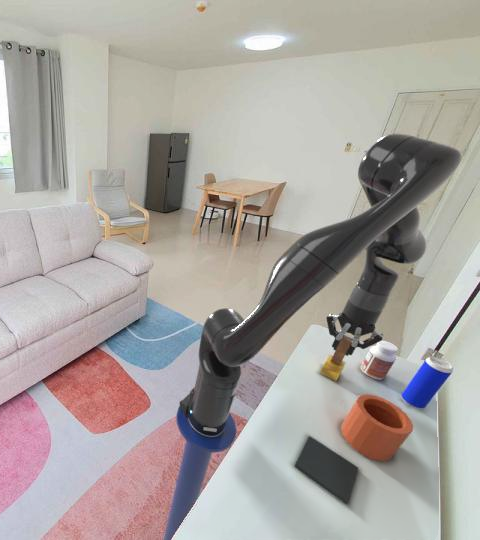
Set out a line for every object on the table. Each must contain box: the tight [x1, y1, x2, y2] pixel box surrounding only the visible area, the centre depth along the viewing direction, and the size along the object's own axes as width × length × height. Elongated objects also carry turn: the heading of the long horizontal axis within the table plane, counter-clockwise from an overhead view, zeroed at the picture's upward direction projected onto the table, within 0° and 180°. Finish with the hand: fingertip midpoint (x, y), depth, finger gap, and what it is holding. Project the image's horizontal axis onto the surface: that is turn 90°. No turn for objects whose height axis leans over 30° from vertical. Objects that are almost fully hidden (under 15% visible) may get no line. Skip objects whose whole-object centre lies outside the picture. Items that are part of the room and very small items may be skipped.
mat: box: [294, 435, 359, 504], centre depth 66 cm, size 10×10×1 cm
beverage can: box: [400, 355, 454, 410], centre depth 80 cm, size 5×5×15 cm
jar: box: [340, 393, 414, 462], centre depth 70 cm, size 10×10×10 cm
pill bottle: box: [360, 340, 399, 380], centre depth 90 cm, size 6×6×11 cm
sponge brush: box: [319, 334, 354, 382], centre depth 88 cm, size 4×4×14 cm
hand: (341, 351), depth 87 cm, fingers closed on sponge brush, 2 cm apart
